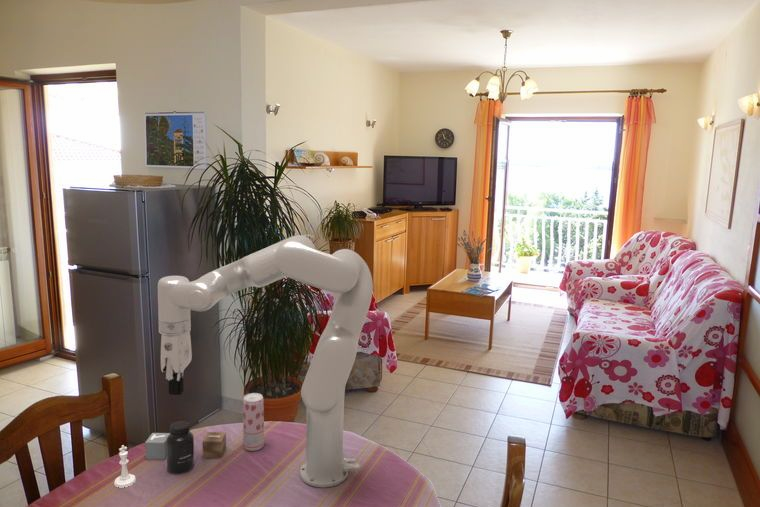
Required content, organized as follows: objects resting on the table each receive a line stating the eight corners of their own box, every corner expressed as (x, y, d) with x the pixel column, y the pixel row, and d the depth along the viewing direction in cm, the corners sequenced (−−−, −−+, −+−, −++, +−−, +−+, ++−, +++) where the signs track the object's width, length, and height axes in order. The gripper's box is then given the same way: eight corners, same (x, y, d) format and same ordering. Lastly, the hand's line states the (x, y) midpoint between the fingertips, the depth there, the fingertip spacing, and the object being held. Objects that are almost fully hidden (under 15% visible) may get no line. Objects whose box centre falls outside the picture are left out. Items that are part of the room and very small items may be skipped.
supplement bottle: (185, 476, 141) (184, 433, 139) (161, 472, 143) (159, 430, 140) (199, 461, 148) (198, 420, 146) (176, 458, 149) (174, 417, 147)
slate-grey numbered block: (171, 449, 153) (170, 432, 152) (164, 459, 149) (163, 442, 148) (153, 449, 153) (152, 432, 152) (146, 459, 148) (145, 441, 147)
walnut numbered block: (226, 448, 155) (225, 431, 154) (221, 458, 150) (221, 441, 149) (208, 448, 155) (207, 431, 154) (203, 458, 150) (202, 440, 149)
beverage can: (240, 450, 154) (239, 400, 151) (247, 439, 160) (247, 391, 157) (260, 452, 153) (259, 402, 151) (266, 441, 159) (266, 393, 156)
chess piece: (111, 480, 138) (109, 444, 137) (132, 474, 142) (130, 438, 140) (117, 490, 135) (115, 453, 133) (138, 483, 138) (136, 446, 136)
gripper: (179, 336, 131) (181, 407, 134) (198, 316, 145) (199, 381, 149) (148, 334, 130) (150, 406, 134) (170, 315, 145) (171, 380, 149)
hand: (176, 393), depth 141 cm, fingers closed
